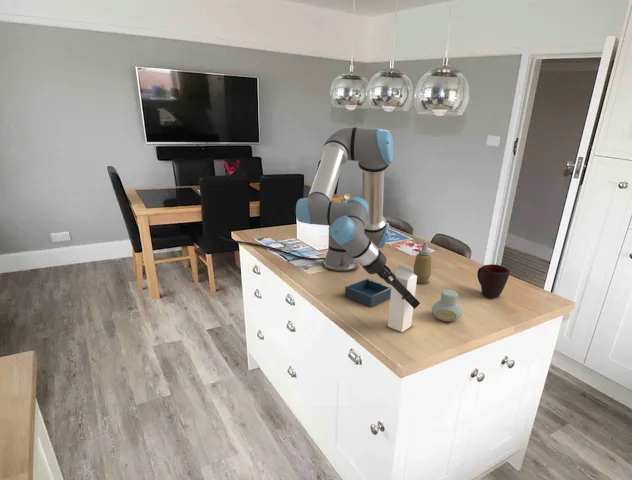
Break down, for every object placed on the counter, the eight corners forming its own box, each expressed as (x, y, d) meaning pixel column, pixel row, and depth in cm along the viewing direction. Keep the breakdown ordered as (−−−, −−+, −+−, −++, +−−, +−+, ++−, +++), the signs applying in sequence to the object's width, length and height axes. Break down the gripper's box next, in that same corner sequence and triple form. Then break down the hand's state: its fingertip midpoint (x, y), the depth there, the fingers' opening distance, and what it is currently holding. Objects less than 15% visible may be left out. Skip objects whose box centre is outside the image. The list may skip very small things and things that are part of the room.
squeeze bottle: (429, 285, 179) (434, 245, 171) (410, 283, 180) (415, 243, 173) (430, 279, 186) (435, 240, 179) (412, 276, 187) (417, 238, 180)
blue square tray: (344, 296, 163) (345, 286, 161) (366, 287, 172) (367, 278, 171) (370, 307, 156) (371, 297, 154) (391, 297, 165) (392, 287, 164)
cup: (489, 302, 168) (495, 274, 163) (467, 288, 179) (472, 262, 174) (507, 298, 172) (513, 271, 167) (485, 286, 183) (490, 260, 178)
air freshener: (429, 320, 149) (433, 294, 145) (432, 310, 157) (435, 286, 153) (460, 325, 147) (465, 299, 143) (461, 315, 155) (465, 290, 151)
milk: (396, 320, 147) (403, 261, 138) (411, 326, 144) (418, 266, 135) (387, 326, 143) (392, 266, 134) (401, 332, 140) (408, 271, 131)
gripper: (350, 255, 137) (391, 295, 150) (373, 279, 120) (417, 322, 132) (366, 239, 137) (406, 280, 149) (392, 260, 119) (434, 305, 132)
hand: (411, 300), depth 141 cm, fingers closed on milk, 8 cm apart
